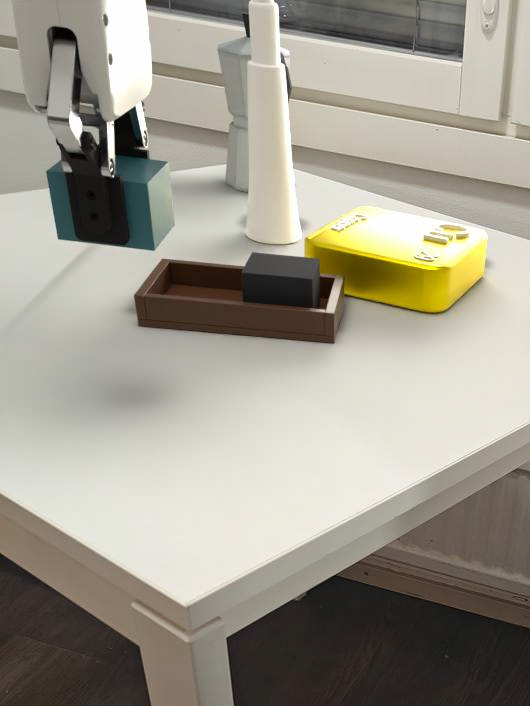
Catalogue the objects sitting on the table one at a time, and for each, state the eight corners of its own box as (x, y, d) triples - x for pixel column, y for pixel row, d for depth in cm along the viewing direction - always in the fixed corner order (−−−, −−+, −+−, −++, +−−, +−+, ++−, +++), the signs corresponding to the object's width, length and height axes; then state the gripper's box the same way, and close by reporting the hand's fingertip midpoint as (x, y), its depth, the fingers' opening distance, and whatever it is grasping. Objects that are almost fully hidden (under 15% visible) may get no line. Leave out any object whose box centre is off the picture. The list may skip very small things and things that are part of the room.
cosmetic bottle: (244, 243, 95) (227, -11, 80) (246, 225, 99) (231, -18, 85) (302, 246, 96) (295, -4, 82) (301, 229, 100) (295, -11, 86)
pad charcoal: (244, 319, 78) (240, 272, 75) (254, 296, 82) (251, 251, 79) (313, 325, 78) (312, 279, 75) (320, 303, 82) (319, 258, 80)
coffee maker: (208, 173, 114) (193, 1, 102) (272, 170, 118) (265, 5, 106) (255, 206, 105) (245, 23, 93) (323, 202, 109) (321, 26, 98)
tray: (138, 325, 76) (133, 295, 74) (165, 287, 83) (162, 258, 81) (334, 343, 77) (334, 313, 75) (344, 303, 84) (344, 275, 83)
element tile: (360, 245, 98) (360, 198, 95) (488, 272, 95) (493, 225, 92) (297, 285, 87) (295, 233, 84) (441, 317, 84) (445, 265, 81)
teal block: (57, 239, 56) (45, 170, 54) (84, 214, 60) (74, 149, 58) (154, 251, 57) (147, 183, 54) (174, 225, 61) (169, 161, 58)
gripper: (51, -146, 53) (98, 184, 64) (-80, -151, 40) (9, 263, 52) (180, -125, 54) (203, 197, 65) (93, -123, 41) (142, 278, 52)
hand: (117, 223), depth 58 cm, fingers closed on teal block, 5 cm apart
